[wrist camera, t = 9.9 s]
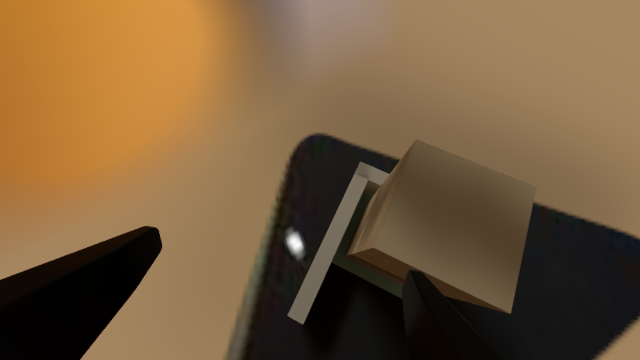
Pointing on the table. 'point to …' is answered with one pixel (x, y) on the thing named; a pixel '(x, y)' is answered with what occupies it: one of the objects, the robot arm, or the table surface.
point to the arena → (343, 242)
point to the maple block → (447, 227)
